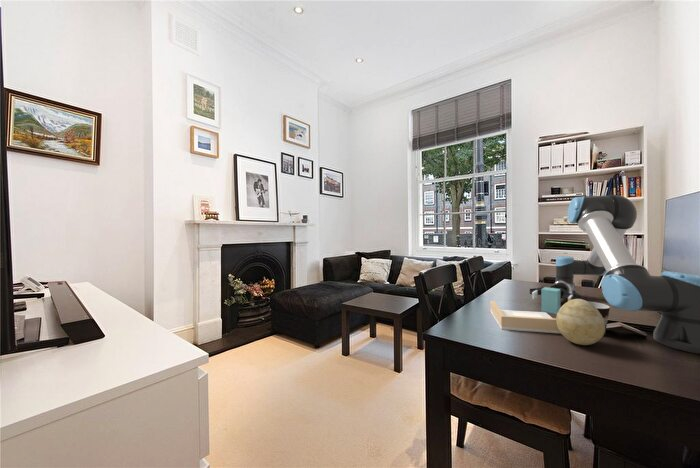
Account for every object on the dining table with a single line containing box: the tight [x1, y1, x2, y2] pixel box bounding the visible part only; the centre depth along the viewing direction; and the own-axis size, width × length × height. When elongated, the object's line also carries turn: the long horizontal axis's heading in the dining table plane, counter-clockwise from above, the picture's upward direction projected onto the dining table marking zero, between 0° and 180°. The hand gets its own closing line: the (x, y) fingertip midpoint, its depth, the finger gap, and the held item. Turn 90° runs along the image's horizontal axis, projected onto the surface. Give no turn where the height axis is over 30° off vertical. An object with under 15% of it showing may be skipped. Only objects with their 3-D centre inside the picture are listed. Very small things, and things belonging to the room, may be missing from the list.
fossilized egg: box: [555, 299, 605, 346], centre depth 95 cm, size 13×13×15 cm
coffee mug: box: [588, 301, 611, 336], centre depth 104 cm, size 12×9×10 cm
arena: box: [489, 300, 561, 334], centre depth 117 cm, size 22×22×5 cm
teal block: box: [540, 286, 561, 315], centre depth 129 cm, size 6×6×10 cm
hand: (550, 298), depth 129 cm, fingers open, 13 cm apart
